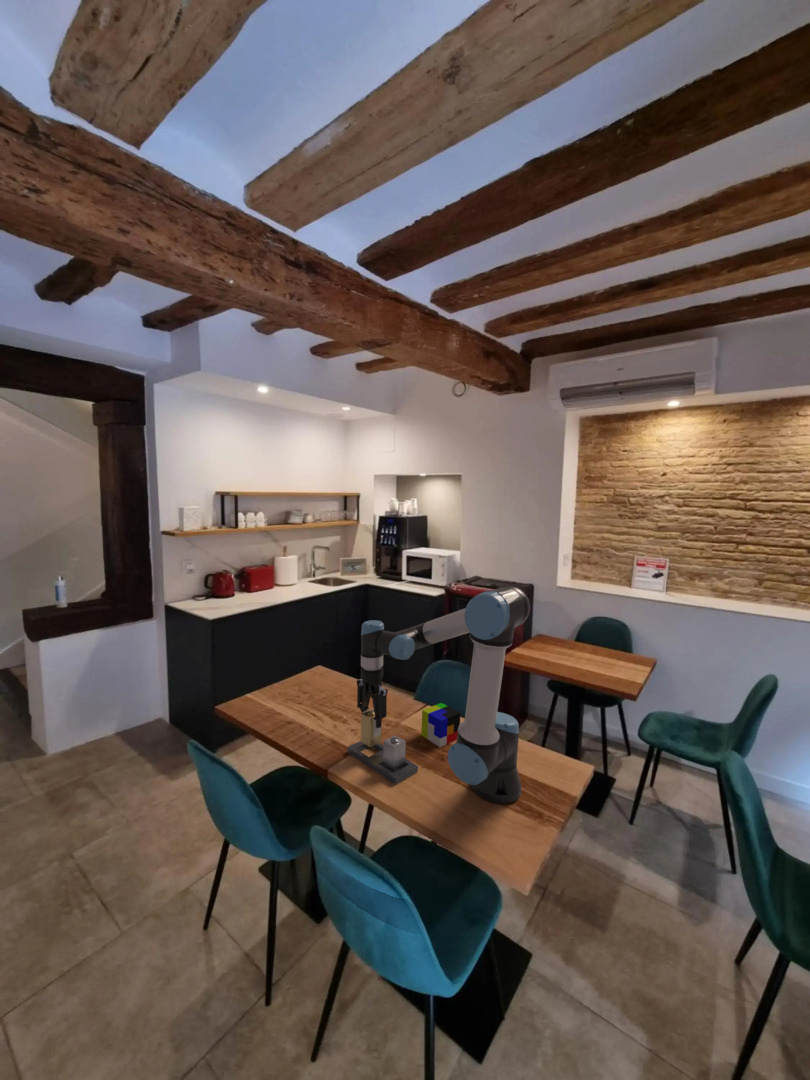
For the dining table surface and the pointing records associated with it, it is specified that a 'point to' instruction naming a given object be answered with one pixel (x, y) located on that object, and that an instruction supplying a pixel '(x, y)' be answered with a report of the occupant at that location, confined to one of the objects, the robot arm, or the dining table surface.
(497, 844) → the dining table surface
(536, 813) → the dining table surface
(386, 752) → the silver block with knob
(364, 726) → the tan block with knob
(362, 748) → the grey flat plate
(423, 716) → the puzzle toy
